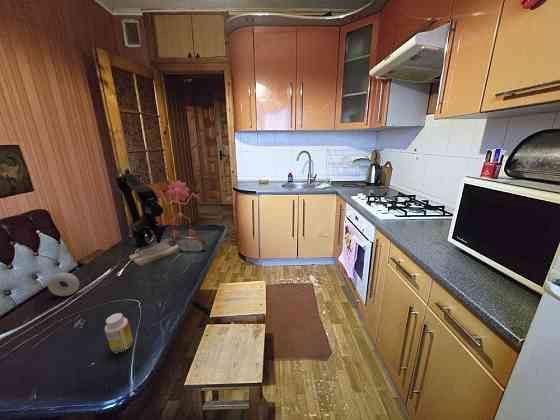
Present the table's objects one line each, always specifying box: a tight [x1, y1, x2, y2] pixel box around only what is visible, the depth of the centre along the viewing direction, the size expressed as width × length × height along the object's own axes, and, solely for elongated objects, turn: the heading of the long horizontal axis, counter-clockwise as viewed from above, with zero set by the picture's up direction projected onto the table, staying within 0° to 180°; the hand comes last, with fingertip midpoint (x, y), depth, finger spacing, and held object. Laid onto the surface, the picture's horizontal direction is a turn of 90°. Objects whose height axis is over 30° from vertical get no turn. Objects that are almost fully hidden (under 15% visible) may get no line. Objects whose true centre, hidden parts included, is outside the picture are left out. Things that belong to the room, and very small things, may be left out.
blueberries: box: [73, 318, 88, 330], centre depth 78 cm, size 7×8×2 cm
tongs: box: [137, 237, 177, 258], centre depth 125 cm, size 18×3×4 cm, turn 142°
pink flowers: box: [155, 180, 202, 240], centre depth 142 cm, size 15×26×35 cm, turn 96°
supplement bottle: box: [104, 312, 134, 354], centre depth 68 cm, size 6×6×10 cm
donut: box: [47, 272, 80, 297], centre depth 92 cm, size 10×4×10 cm, turn 103°
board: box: [128, 243, 182, 267], centre depth 125 cm, size 13×22×2 cm, turn 142°
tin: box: [176, 235, 207, 253], centre depth 126 cm, size 15×3×8 cm, turn 84°
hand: (154, 241), depth 123 cm, fingers open, 9 cm apart
